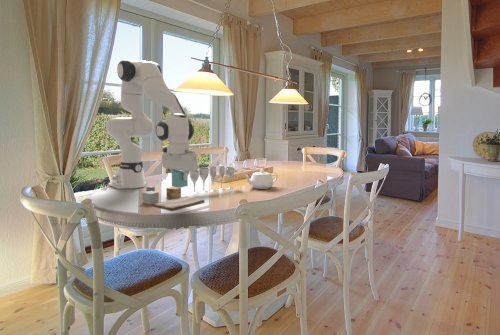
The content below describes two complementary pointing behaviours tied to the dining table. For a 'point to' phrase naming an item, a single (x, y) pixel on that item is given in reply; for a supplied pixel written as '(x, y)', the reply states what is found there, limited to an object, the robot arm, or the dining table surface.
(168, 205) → the walnut board
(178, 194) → the oak block
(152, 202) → the grey block
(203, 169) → the goblet set
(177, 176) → the teal block
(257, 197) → the dining table surface
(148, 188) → the charcoal cylinder
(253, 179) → the teapot
